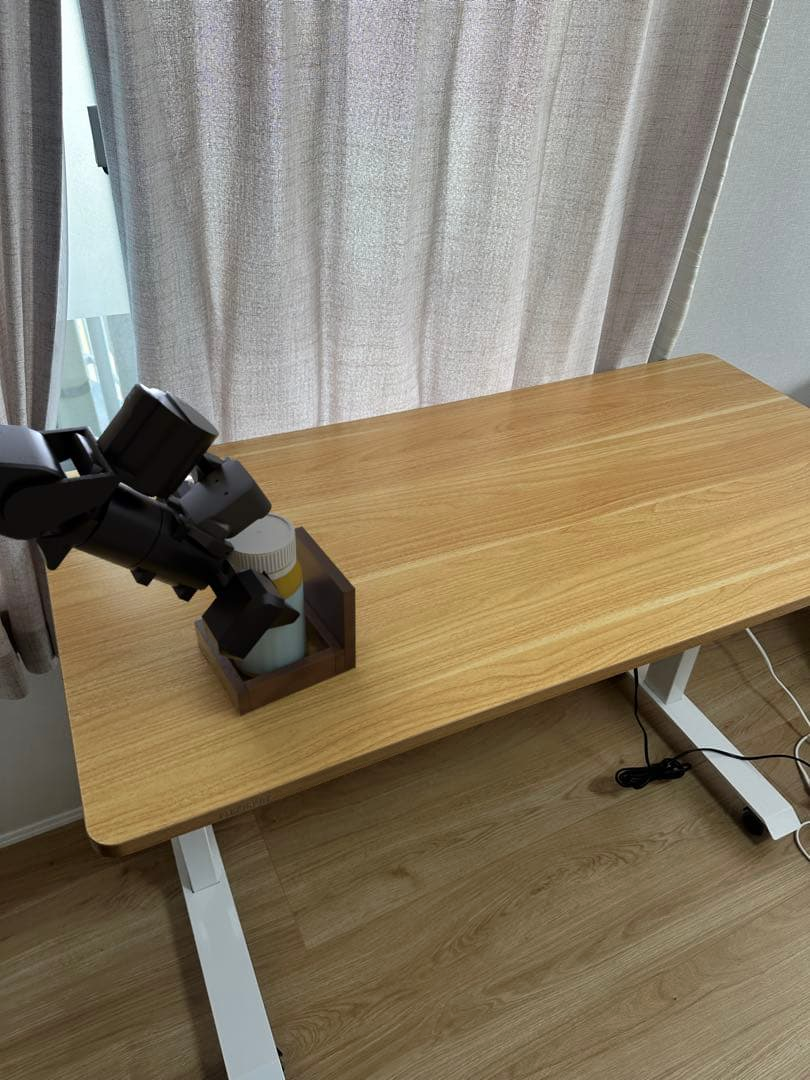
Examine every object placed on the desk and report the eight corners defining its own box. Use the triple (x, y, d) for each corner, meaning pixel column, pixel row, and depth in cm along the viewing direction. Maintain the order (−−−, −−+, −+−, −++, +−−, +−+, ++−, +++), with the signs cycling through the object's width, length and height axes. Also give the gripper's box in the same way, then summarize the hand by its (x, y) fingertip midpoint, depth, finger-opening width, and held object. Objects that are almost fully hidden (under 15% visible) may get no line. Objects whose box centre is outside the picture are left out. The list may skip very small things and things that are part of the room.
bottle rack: (240, 716, 72) (228, 635, 66) (197, 643, 79) (183, 563, 73) (356, 667, 77) (355, 588, 71) (306, 602, 84) (302, 525, 78)
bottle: (312, 635, 80) (306, 512, 71) (298, 687, 74) (289, 561, 65) (244, 628, 80) (229, 505, 71) (224, 680, 75) (206, 553, 66)
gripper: (249, 513, 55) (385, 583, 66) (159, 399, 67) (287, 475, 79) (153, 637, 56) (303, 685, 68) (82, 503, 68) (220, 562, 80)
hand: (278, 593), depth 73 cm, fingers open, 7 cm apart
